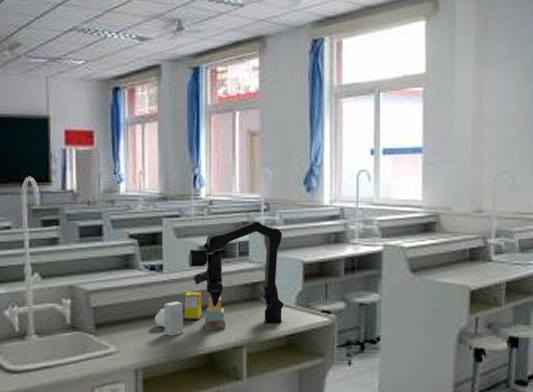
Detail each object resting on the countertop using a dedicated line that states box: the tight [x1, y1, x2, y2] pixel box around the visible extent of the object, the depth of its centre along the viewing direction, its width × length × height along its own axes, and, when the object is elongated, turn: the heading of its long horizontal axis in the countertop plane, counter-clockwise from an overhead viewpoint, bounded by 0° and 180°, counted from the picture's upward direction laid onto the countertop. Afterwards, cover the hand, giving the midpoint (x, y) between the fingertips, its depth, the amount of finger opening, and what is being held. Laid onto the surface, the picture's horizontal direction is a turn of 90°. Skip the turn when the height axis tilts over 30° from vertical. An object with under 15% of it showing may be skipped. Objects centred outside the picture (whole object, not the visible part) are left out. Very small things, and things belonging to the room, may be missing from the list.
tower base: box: [204, 315, 226, 330], centre depth 241 cm, size 8×8×4 cm
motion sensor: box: [154, 308, 165, 328], centre depth 240 cm, size 8×8×8 cm
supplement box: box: [184, 291, 202, 321], centre depth 253 cm, size 6×6×11 cm
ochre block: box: [208, 296, 222, 312], centre depth 240 cm, size 5×5×5 cm
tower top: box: [205, 307, 225, 321], centre depth 241 cm, size 7×7×4 cm
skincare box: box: [164, 301, 184, 337], centre depth 230 cm, size 6×4×12 cm
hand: (214, 303), depth 240 cm, fingers open, 9 cm apart
